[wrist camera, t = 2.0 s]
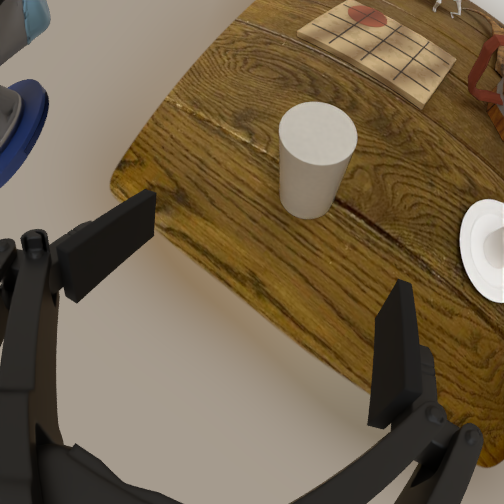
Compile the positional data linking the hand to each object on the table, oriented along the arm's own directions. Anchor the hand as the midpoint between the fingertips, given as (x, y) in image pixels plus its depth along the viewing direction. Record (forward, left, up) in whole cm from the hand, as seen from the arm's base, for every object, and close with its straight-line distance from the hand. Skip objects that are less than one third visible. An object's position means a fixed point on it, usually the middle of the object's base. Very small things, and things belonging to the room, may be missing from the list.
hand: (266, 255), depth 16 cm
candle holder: (+17, +20, -14) cm, 30 cm away
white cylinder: (-4, +10, -14) cm, 18 cm away
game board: (-10, +37, -14) cm, 40 cm away
